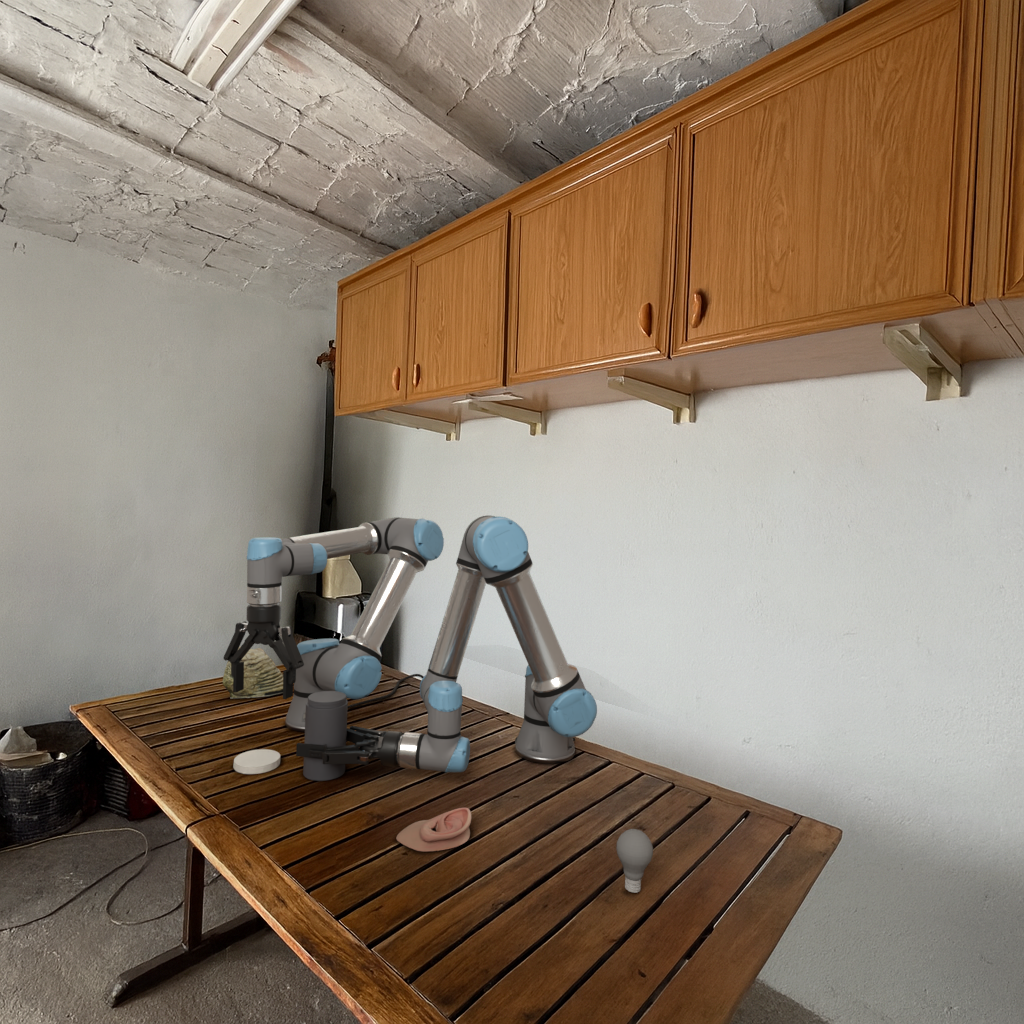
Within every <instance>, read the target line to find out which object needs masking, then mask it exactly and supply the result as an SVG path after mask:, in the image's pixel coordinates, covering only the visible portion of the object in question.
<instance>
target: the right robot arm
mask: <svg viewBox="0 0 1024 1024" xmlns="http://www.w3.org/2000/svg"><path fill="white" fill-rule="evenodd" d="M455 565H456V567H457V569H458V570H457V573H456V575H455V576H456V577H455V580H454V583H453V586H452V589H451V593H450V595H449V599H448V602H447V605H446V609H445V612H444V616H443V618H442V622H441V625H440V629H439V632H438V635H437V638H436V641H435V646H434V648H433V651H432V655H431V657H430V661H429V664H428V668H427V671H426V673H425V675H423V676H424V677H423V678H421V681H420V682H419V695H420V698H421V700H422V702H423V704H424V706H425V709H426V712H427V732H426V733H421V732H408V731H405V732H404V733H403V732H402V731H395V730H388V731H387V730H375V729H372V728H366V727H363V726H361V727H360V726H356V725H350V726H349V727H347V735H346V743H348V742H349V743H352V744H348V745H347V744H346V746H337V747H327V745H326V744H325V745H316V744H305V743H304V742H297V743H296V745H295V746H296V749H295V757H299V758H300V757H301V758H304V757H310V758H321V759H323V764H345V765H362V766H363V765H364V766H367V765H369V764H370V760H373V759H378V760H379V761H380V764H381V766H383V767H390V768H391V767H392V768H398V767H400V768H403V769H410V770H411V771H415V769H416V770H425V771H434V772H441V773H442V772H443V773H455V774H456V773H464V772H465V771H466V770H467V769H468V766H469V762H470V756H471V740H470V739H469V738H468V737H464V736H462V733H461V732H462V731H461V728H462V713H463V702H464V697H463V687H462V685H461V684H460V683H458V682H457V680H458V677H459V673H460V670H461V666H462V664H463V660H464V657H465V654H466V650H467V647H468V643H469V640H470V638H471V634H472V631H473V627H474V624H475V621H476V619H477V618H476V617H477V615H478V612H479V608H480V605H481V602H482V598H483V596H484V592H485V589H486V585H489V586H491V587H493V588H495V590H496V592H497V595H498V597H499V599H500V602H501V604H502V606H503V609H504V612H505V613H506V616H507V617H508V620H509V622H510V623H509V624H510V625H511V627H512V630H513V632H514V634H515V637H516V639H517V642H518V644H519V646H520V648H521V650H522V653H523V656H524V658H525V660H526V662H527V666H526V667H525V675H524V678H525V682H524V683H525V684H524V704H523V706H524V707H523V720H522V724H521V727H520V730H519V731H518V735H517V736H516V737H515V739H514V744H515V746H514V747H515V750H514V751H515V753H516V755H518V756H519V757H520V758H521V759H524V760H526V761H529V762H532V763H538V764H545V765H548V764H549V765H552V764H553V765H554V764H561V763H562V764H563V763H566V762H568V761H570V760H572V759H574V757H575V754H576V753H575V752H576V746H575V741H576V737H579V736H582V735H584V734H585V733H586V732H587V731H589V730H590V728H591V727H592V726H593V725H594V722H595V720H596V718H597V715H598V705H597V701H596V699H595V697H594V695H592V693H591V692H590V691H589V690H587V689H586V686H585V684H584V681H583V679H582V677H581V674H580V673H579V669H578V668H577V666H575V665H572V664H570V663H568V661H567V658H566V656H565V653H564V651H563V649H562V647H561V644H560V641H559V639H558V637H557V634H556V632H555V630H554V627H553V624H552V623H551V620H550V617H549V615H548V613H547V611H546V608H545V606H544V604H543V601H542V599H541V596H540V594H539V592H538V589H537V587H536V584H535V583H534V580H533V577H532V575H531V570H532V567H533V565H534V563H533V560H532V558H531V556H530V553H529V540H528V537H527V534H526V532H525V531H524V529H523V528H522V526H520V525H519V524H518V523H517V522H516V521H514V520H513V519H511V518H508V517H506V516H495V515H482V516H479V517H477V518H475V519H474V520H472V521H471V522H470V523H469V524H468V526H467V527H466V529H465V531H464V534H463V536H462V540H461V545H460V548H459V552H458V556H457V558H456V562H455Z"/></svg>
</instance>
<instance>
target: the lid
mask: <svg viewBox="0 0 1024 1024" xmlns="http://www.w3.org/2000/svg"><path fill="white" fill-rule="evenodd" d="M280 765H281V754H280V752H278V751H276V750H274V749H267V748H266V749H265V748H262V749H261V748H259V749H251V750H247V751H245V752H242V753H239V754H238V755H236V756H235V757H234V759H233V766H232V768H233V770H234V771H235V772H236V773H239V774H243V775H257V774H258V775H259V774H264V773H268V772H270V771H273V770H275V769H277V768H278V767H279V766H280Z"/></svg>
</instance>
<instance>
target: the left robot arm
mask: <svg viewBox="0 0 1024 1024" xmlns="http://www.w3.org/2000/svg"><path fill="white" fill-rule="evenodd" d="M444 543H445V538H444V534H443V530H442V529H441V527H440V525H439V523H437V522H436V521H434V520H430V519H425V518H410V517H409V518H408V517H401V516H400V517H399V516H396V517H394V516H393V517H388V518H382V519H378V520H373V521H368V522H362V523H360V525H358V527H352V528H351V527H350V528H344V529H338V530H331V531H324V532H318V533H317V532H316V533H311V534H304V535H296V536H291V537H286V538H280V537H273V536H272V537H270V536H269V537H266V536H265V537H263V536H261V537H259V536H258V537H252V538H250V539H249V540H248V542H247V551H246V552H247V553H246V561H247V562H246V586H247V587H246V603H247V604H248V605H247V606H246V621H245V620H243V621H240V622H237V623H235V629H234V633H233V635H232V637H231V640H230V642H229V644H228V646H227V648H226V650H225V653H224V655H223V661H227V662H228V661H229V662H230V663H231V676H232V677H233V692H238V691H240V690H243V689H244V662H240V661H242V658H243V657H244V656H245V655H246V653H247V652H248V651H249V650H250V649H252V648H253V646H254V645H260V644H261V645H263V646H268V647H270V648H271V649H272V650H273V651H274V653H275V654H276V656H277V657H278V659H279V661H280V662H281V663H282V665H283V666H284V669H285V670H283V671H282V675H283V693H282V699H283V700H287V699H289V698H291V697H292V699H291V702H290V704H289V708H288V711H287V713H286V715H285V726H286V728H287V729H289V730H291V731H294V732H295V731H296V732H301V733H305V714H306V702H307V701H308V696H309V695H311V694H313V693H316V692H321V691H338V692H342V693H344V694H346V696H347V698H346V699H351V700H362V699H364V698H367V697H368V696H369V695H371V694H372V693H373V692H374V691H375V690H376V688H377V687H378V685H379V683H380V681H381V680H382V679H381V678H382V674H383V672H382V669H383V668H382V664H381V662H380V661H381V659H382V656H383V655H382V652H381V649H380V648H381V647H382V644H383V642H384V640H385V638H386V636H387V634H388V632H389V630H390V628H391V626H392V624H393V622H394V620H395V618H396V616H397V614H398V612H399V610H400V608H401V606H402V604H403V602H404V600H405V597H406V595H407V593H408V591H409V589H410V587H411V585H412V583H413V582H414V579H415V577H416V575H417V574H418V573H421V572H423V571H425V569H426V567H427V564H428V563H429V562H431V561H435V560H437V559H438V558H440V556H441V555H442V552H443V550H444V545H445V544H444ZM356 554H364V555H367V556H370V555H376V554H378V555H387V556H388V559H389V560H388V563H386V566H385V568H384V570H383V572H382V574H381V575H380V577H379V579H378V581H377V583H376V586H375V587H374V589H373V591H372V593H371V595H370V596H369V599H368V601H367V603H366V604H365V607H364V608H363V611H362V612H361V615H360V616H359V618H358V620H357V622H356V623H355V625H354V628H353V630H352V632H351V634H350V635H348V636H344V637H343V638H342V639H341V641H339V639H337V638H317V639H316V638H315V639H308V640H304V641H300V642H299V643H298V644H297V643H296V640H295V638H294V633H293V632H294V631H293V627H292V626H291V625H288V626H281V624H280V622H281V620H282V605H281V604H280V603H281V602H282V600H283V599H282V596H283V595H282V594H283V593H282V592H283V591H282V583H283V582H282V581H283V578H284V577H292V576H303V575H310V576H311V575H314V574H319V573H321V572H323V571H324V570H325V569H326V567H327V564H328V560H330V559H336V558H342V557H344V556H345V557H347V556H351V555H356ZM246 632H247V633H248V635H247V637H246V638H245V640H244V642H243V639H244V637H245V635H246V634H247V633H246ZM242 642H243V643H242ZM239 647H240V648H239ZM238 648H239V650H238ZM424 676H425V675H422V674H421V673H414V674H410V675H407V676H405V677H403V678H401V679H399V680H397V682H396V684H395V686H394V687H393V689H392V691H391V692H389V693H388V694H384V695H382V696H378V697H373V698H370V699H366V700H363V701H359V702H356V703H352V704H348V709H352V708H356V707H358V706H362V705H366V704H369V703H372V702H376V701H381V700H384V699H387V698H390V697H392V695H394V694H395V693H396V691H397V689H398V688H399V686H400V684H401V683H402V682H405V681H406V680H408V679H411V678H415V677H419V678H421V679H423V677H424Z"/></svg>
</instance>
